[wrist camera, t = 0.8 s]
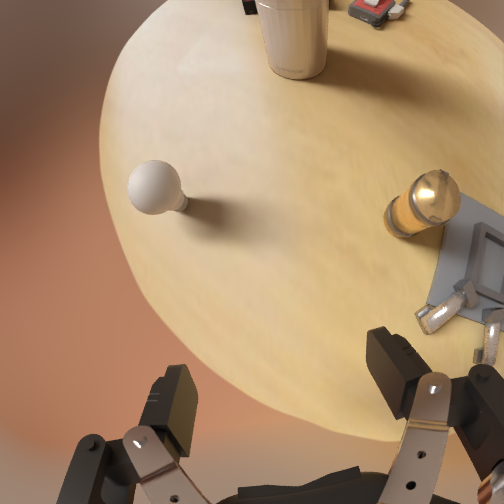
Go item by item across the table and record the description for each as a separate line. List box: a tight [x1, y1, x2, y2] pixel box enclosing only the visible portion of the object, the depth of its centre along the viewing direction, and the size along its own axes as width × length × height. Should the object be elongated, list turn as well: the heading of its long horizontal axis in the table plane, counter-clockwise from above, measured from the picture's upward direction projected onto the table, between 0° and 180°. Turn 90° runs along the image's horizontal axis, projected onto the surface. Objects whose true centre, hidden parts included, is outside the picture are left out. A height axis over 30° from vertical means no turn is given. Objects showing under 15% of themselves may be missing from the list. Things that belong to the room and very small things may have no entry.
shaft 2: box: [473, 307, 504, 366], centre depth 26 cm, size 8×3×4 cm, turn 0°
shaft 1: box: [414, 279, 479, 335], centre depth 28 cm, size 8×3×4 cm, turn 120°
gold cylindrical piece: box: [384, 169, 461, 238], centre depth 26 cm, size 5×5×12 cm
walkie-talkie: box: [348, 0, 409, 27], centre depth 33 cm, size 9×4×20 cm
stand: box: [426, 192, 504, 331], centre depth 27 cm, size 16×18×3 cm
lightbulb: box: [127, 160, 188, 215], centre depth 32 cm, size 6×6×11 cm
